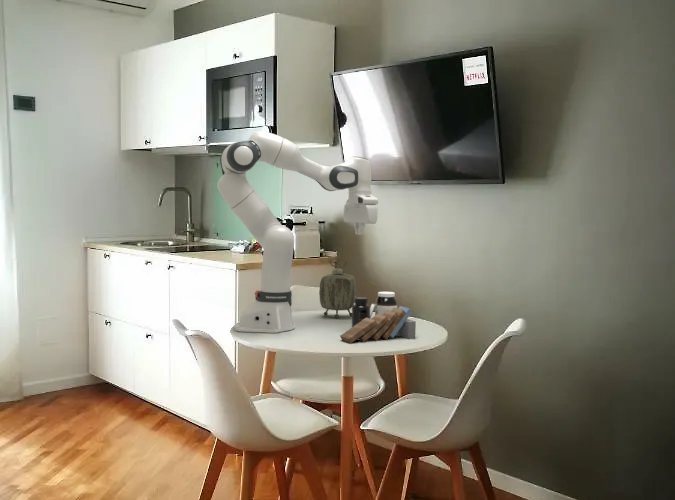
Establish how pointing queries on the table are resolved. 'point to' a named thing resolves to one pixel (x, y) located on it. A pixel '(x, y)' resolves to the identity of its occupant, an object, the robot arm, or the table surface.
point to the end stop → (407, 329)
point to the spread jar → (383, 303)
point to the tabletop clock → (337, 290)
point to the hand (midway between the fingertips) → (359, 234)
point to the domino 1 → (358, 330)
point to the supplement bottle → (360, 310)
